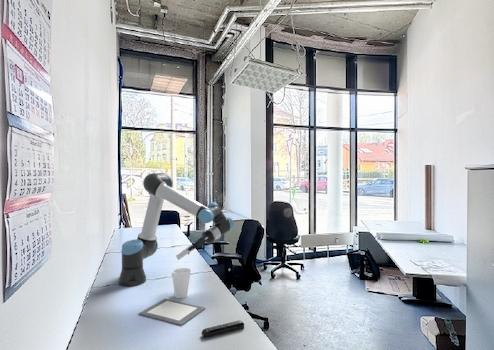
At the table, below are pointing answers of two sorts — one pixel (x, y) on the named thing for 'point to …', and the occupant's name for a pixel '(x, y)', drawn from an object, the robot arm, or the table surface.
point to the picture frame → (172, 311)
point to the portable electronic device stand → (222, 329)
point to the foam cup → (181, 282)
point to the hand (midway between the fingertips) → (179, 255)
